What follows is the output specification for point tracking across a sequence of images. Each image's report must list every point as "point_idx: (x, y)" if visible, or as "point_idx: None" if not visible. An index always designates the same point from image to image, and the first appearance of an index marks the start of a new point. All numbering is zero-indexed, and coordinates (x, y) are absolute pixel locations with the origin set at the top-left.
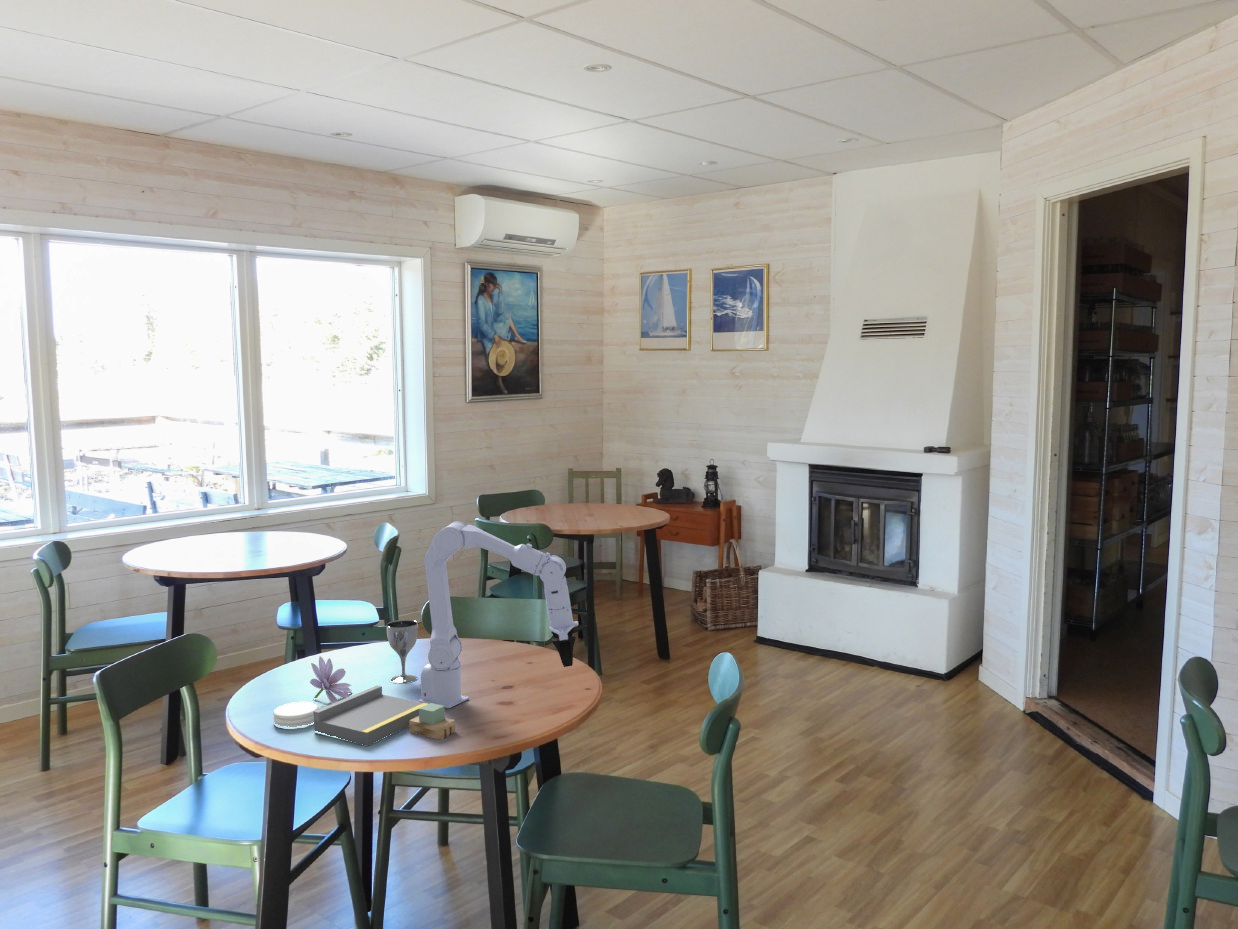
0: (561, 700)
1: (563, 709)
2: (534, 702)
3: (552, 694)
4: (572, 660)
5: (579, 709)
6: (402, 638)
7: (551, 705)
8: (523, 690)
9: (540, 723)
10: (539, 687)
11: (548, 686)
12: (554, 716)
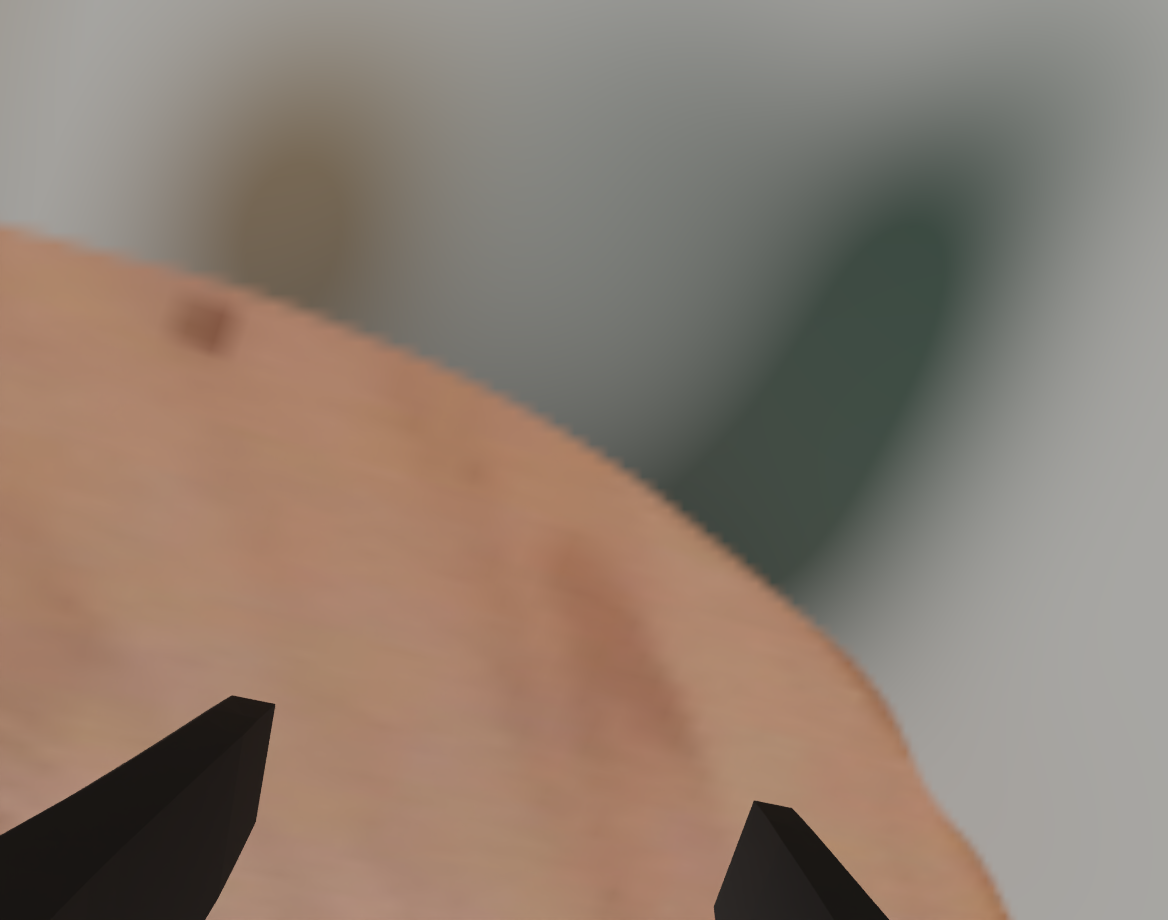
0: (428, 618)
1: (629, 652)
2: (402, 821)
3: (259, 652)
4: (846, 871)
5: (673, 539)
6: None
7: (512, 716)
8: None
9: None
10: (39, 715)
11: (34, 638)
12: (741, 744)
